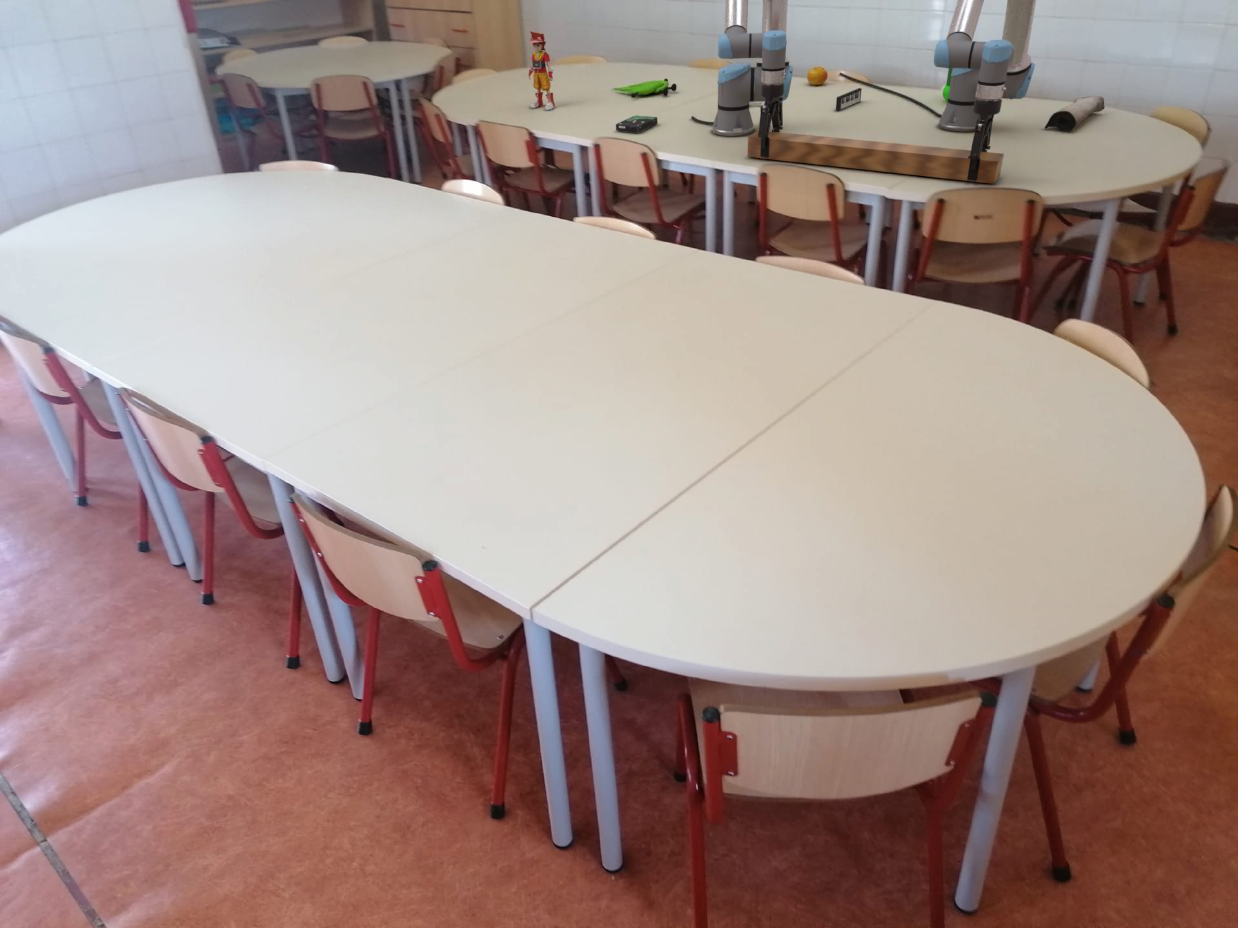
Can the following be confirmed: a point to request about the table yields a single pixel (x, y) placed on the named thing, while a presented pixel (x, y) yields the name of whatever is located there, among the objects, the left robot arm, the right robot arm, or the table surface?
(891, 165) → the slab
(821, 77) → the fruit
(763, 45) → the left robot arm
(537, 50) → the toy
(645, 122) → the disk drive
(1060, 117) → the rolled mat
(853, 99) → the midi keyboard
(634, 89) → the toy
